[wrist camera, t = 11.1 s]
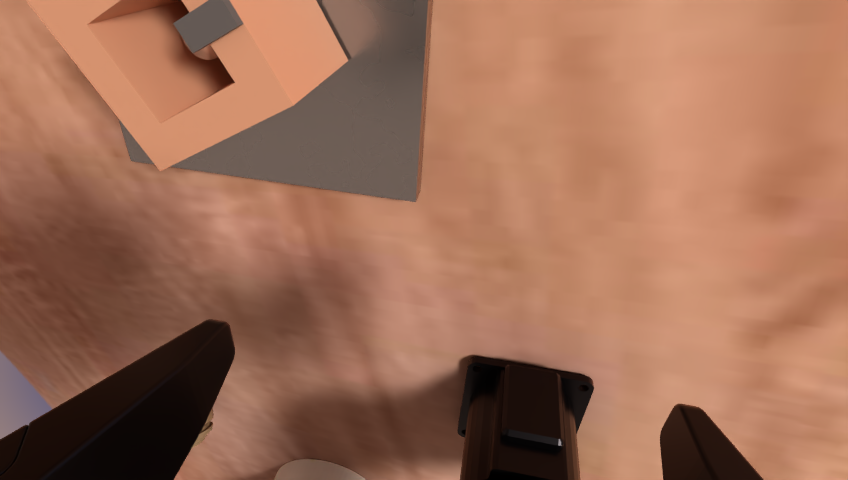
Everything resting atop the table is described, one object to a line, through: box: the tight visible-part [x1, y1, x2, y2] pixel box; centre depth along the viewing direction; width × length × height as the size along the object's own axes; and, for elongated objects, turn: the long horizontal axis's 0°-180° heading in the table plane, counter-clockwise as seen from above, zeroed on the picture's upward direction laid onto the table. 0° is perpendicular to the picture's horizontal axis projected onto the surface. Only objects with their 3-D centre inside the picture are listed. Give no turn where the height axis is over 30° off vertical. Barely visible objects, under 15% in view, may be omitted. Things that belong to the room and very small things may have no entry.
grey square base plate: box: [118, 0, 433, 202], centre depth 17 cm, size 13×13×4 cm
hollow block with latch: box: [27, 0, 348, 171], centre depth 15 cm, size 5×5×5 cm
